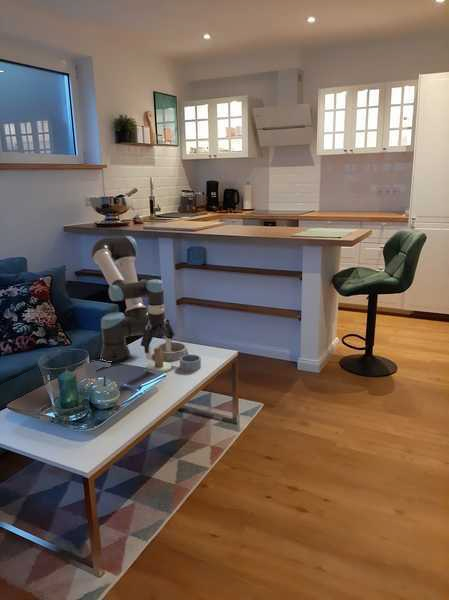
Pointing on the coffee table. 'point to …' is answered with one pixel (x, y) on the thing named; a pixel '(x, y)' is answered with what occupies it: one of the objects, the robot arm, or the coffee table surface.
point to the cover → (159, 361)
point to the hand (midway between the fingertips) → (158, 354)
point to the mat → (171, 368)
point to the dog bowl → (178, 350)
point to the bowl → (190, 363)
